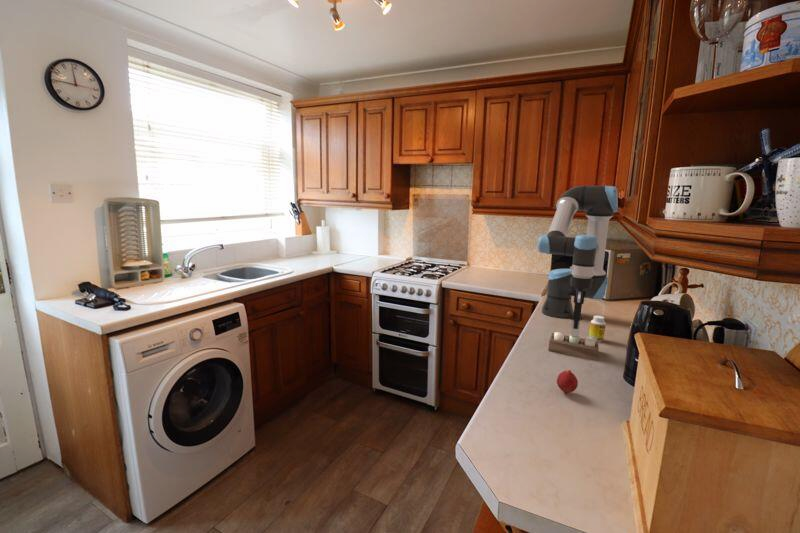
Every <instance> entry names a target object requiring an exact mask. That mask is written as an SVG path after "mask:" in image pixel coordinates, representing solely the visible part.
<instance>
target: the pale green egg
mask: <svg viewBox="0 0 800 533" xmlns="http://www.w3.org/2000/svg"><path fill="white" fill-rule="evenodd" d="M568 336H569V342H571V343H576V344H579V339H580V338H581V337H580V336H578V337H575V336H571V334H569V335H568Z"/></svg>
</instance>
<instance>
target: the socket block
mask: <svg viewBox="0 0 800 533" xmlns="http://www.w3.org/2000/svg"><path fill="white" fill-rule="evenodd" d="M554 333H555V332H554ZM554 333H553V332H552V333H551V335H550V338H549V341H548V349H547V350H548V351H549V352H552V353H559V354H563V355H568V356H573V357H578V358H582V359H588V360H593V361H598V357H599V349H600V348H599V345H600V344H599V343H600V342H599V341H595V347H592V346H587V345H584V343H585V338H581V337H580V339H579V344H576V343H571V342H569V336H570V335H565V334H564V341H560V340H554Z"/></svg>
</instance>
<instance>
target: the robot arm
mask: <svg viewBox="0 0 800 533" xmlns="http://www.w3.org/2000/svg"><path fill="white" fill-rule="evenodd" d="M618 196H619V194H618V188H617V187H616V186H612V185H578V186H574V187H571V188H569V189H568V190H566V191H565V192H563V193H562V194H561V195H560V197H559V198H558V200H557V202H556V205H555V206H556V207H555V208H556V211H555V213H554V216H553V218H552V221H551V224H550V226H549V228H548V231H547V233H546V234H545V235H544V234H542V235H540V236H539V238H538V242H537V250H538V252H539V253H541V254H547V255H557V256H569V257H572V265H571V266H570V267H569V268H556V269H551V270H550V272H549V274H548V278H547V292H546V298H545V300H544V302H543V304H542V307H541V313H542V314H544V315H546V316H550V317H553V318H558V319H559V318H561V319H568V318H570V320H571V321H572V322H571V331H570V335H571V336H575V337H578V336H579V334H580V328H581V326H580V325H581V320H583V317H581V316H582V307H583V305H584V302H585V299H590V300H598V301H599V300H602V299H603V298H604V296H605V293H606V289H607V286H608V282H609V279H610V278H609V276H607V274H606V271H605V270H604V264H605V262H604V261H605V254H606V246H607V239H608V230H609V222H610V219H611V218H613V217H614V213H618V207H619V200H618V199H619V197H618ZM578 211H579V212H580V211H581V212H585V217H586V218H587V219H588V220H587V229H586V234H578V235H576V236H575V237H573V236H572V237H571V236H568V234H569V230H570V228H571V225H572V221H573V218H574V215H575V214H576V212H578ZM572 297H573V303H574V307H573V303H572ZM579 337H580V336H579Z"/></svg>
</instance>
